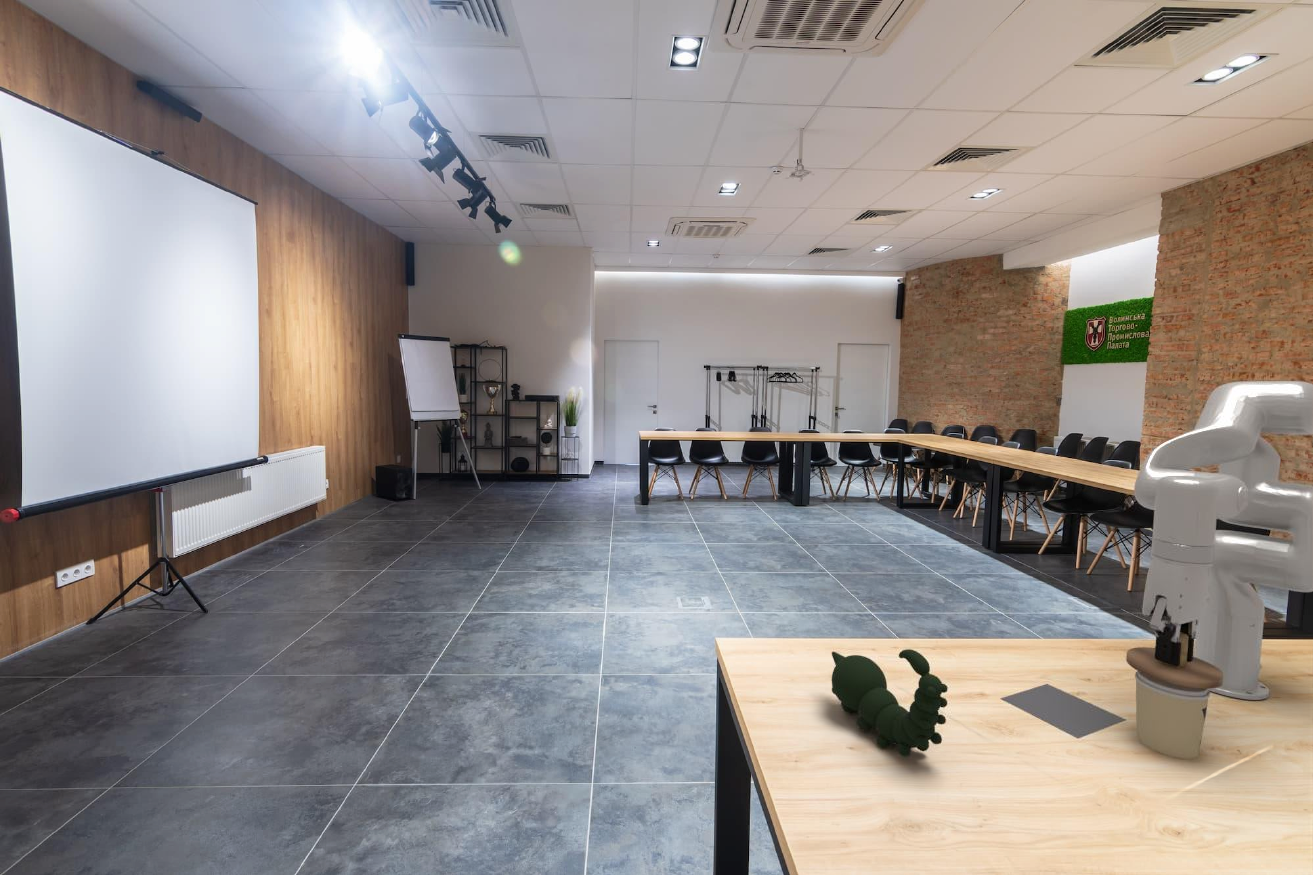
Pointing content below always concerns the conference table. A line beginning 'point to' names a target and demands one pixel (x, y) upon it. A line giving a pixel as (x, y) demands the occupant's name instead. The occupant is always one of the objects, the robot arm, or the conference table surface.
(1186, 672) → the lid
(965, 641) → the conference table surface
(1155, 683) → the coffee cup
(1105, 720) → the mat
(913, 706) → the toy figurine
